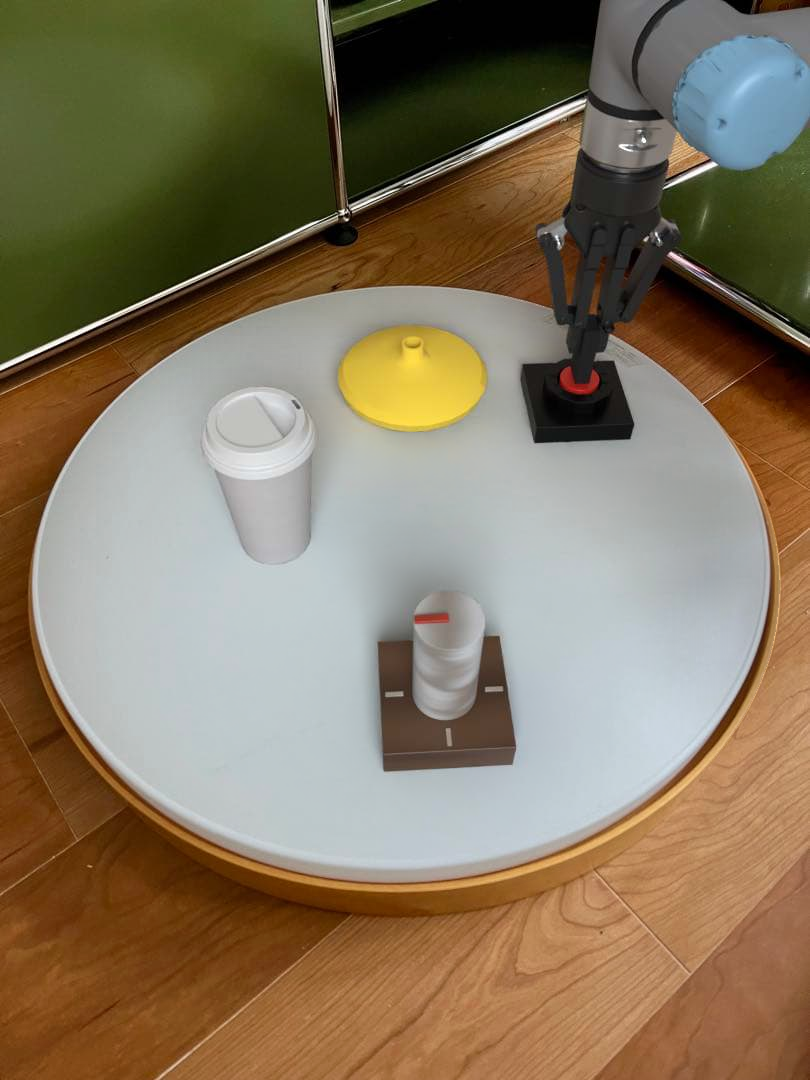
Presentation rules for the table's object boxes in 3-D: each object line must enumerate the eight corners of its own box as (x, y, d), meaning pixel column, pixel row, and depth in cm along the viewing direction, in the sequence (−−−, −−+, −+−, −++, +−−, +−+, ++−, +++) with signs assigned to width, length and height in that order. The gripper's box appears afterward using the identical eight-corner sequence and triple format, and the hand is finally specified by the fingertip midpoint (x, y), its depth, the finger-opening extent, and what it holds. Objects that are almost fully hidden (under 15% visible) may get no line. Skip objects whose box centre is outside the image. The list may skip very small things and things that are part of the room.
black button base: (630, 439, 92) (638, 410, 89) (534, 443, 92) (538, 414, 89) (610, 375, 98) (617, 346, 95) (520, 379, 98) (524, 350, 95)
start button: (600, 402, 92) (603, 389, 91) (561, 404, 92) (563, 391, 90) (592, 377, 94) (595, 364, 93) (554, 378, 94) (557, 365, 93)
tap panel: (512, 765, 69) (516, 746, 67) (383, 772, 69) (383, 753, 66) (496, 654, 76) (499, 634, 73) (378, 660, 75) (377, 640, 73)
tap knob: (472, 662, 72) (481, 586, 64) (479, 718, 68) (489, 645, 60) (410, 666, 71) (411, 589, 63) (414, 722, 68) (416, 649, 60)
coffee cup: (331, 572, 81) (319, 455, 70) (225, 583, 80) (195, 467, 69) (323, 494, 87) (311, 375, 76) (224, 504, 86) (196, 385, 75)
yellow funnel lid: (379, 466, 90) (377, 414, 84) (315, 375, 98) (310, 322, 93) (513, 417, 94) (520, 364, 89) (440, 333, 103) (442, 281, 98)
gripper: (553, 177, 71) (521, 402, 89) (715, 173, 71) (651, 397, 90) (538, 131, 75) (511, 353, 94) (690, 127, 76) (634, 349, 94)
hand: (579, 374), depth 92 cm, fingers closed
